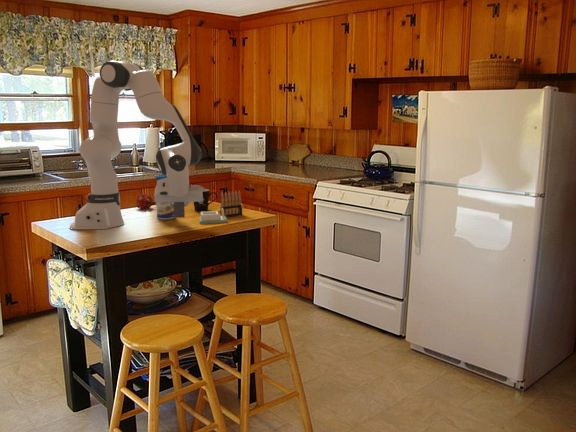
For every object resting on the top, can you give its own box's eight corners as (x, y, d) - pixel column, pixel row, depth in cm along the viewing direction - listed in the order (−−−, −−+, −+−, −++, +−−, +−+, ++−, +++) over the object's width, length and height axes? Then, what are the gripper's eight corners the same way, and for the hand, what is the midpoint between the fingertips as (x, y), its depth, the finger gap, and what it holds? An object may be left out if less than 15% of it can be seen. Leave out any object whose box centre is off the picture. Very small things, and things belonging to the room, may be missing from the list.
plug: (174, 217, 239) (173, 197, 238) (174, 215, 244) (173, 195, 242) (184, 217, 240) (184, 196, 238) (184, 215, 244) (184, 195, 243)
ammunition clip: (240, 214, 264) (239, 189, 261) (242, 215, 262) (241, 190, 260) (220, 217, 258) (219, 191, 256) (222, 217, 256) (221, 192, 254)
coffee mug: (189, 211, 273) (188, 191, 271) (197, 208, 281) (196, 188, 279) (211, 212, 270) (210, 192, 268) (218, 209, 278) (217, 189, 276)
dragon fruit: (142, 209, 288) (150, 216, 279) (129, 201, 283) (136, 208, 273) (151, 196, 289) (160, 202, 279) (138, 187, 283) (146, 194, 274)
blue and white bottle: (175, 215, 263) (172, 173, 259) (175, 219, 255) (173, 175, 251) (156, 216, 261) (154, 174, 257) (156, 220, 253) (154, 176, 249)
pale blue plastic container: (200, 223, 244) (199, 212, 243) (199, 219, 254) (198, 208, 253) (227, 222, 246) (227, 211, 245) (225, 218, 256) (225, 207, 255)
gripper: (203, 179, 234) (203, 198, 245) (153, 180, 230) (155, 199, 241) (204, 191, 230) (203, 210, 242) (153, 192, 227) (155, 211, 238)
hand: (179, 205), depth 241 cm, fingers closed on plug, 4 cm apart
